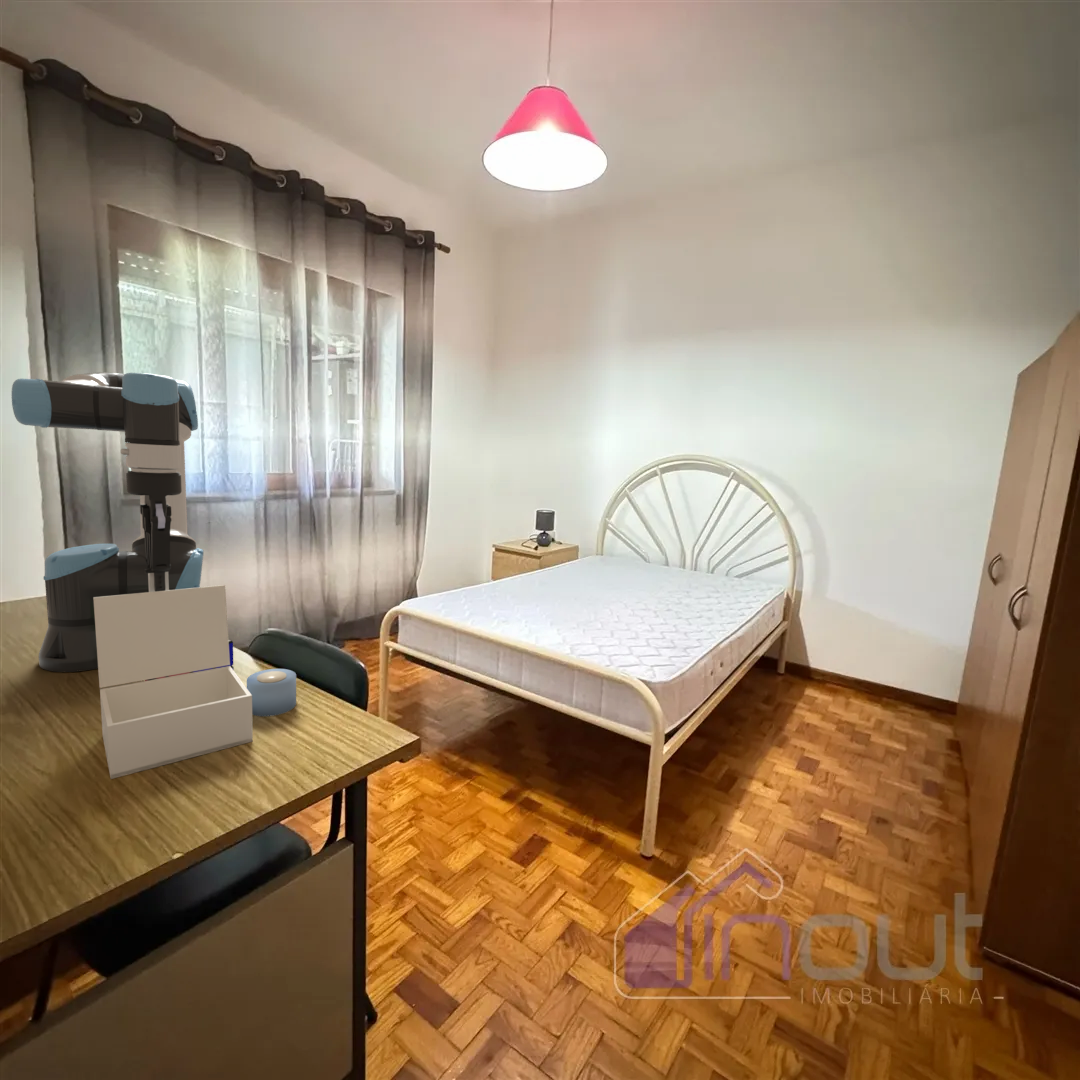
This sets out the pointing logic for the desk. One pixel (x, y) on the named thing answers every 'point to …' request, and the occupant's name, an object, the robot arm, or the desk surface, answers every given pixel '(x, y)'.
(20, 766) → the desk surface
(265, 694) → the blue domed cylinder
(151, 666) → the hinged white flap
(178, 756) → the carton
